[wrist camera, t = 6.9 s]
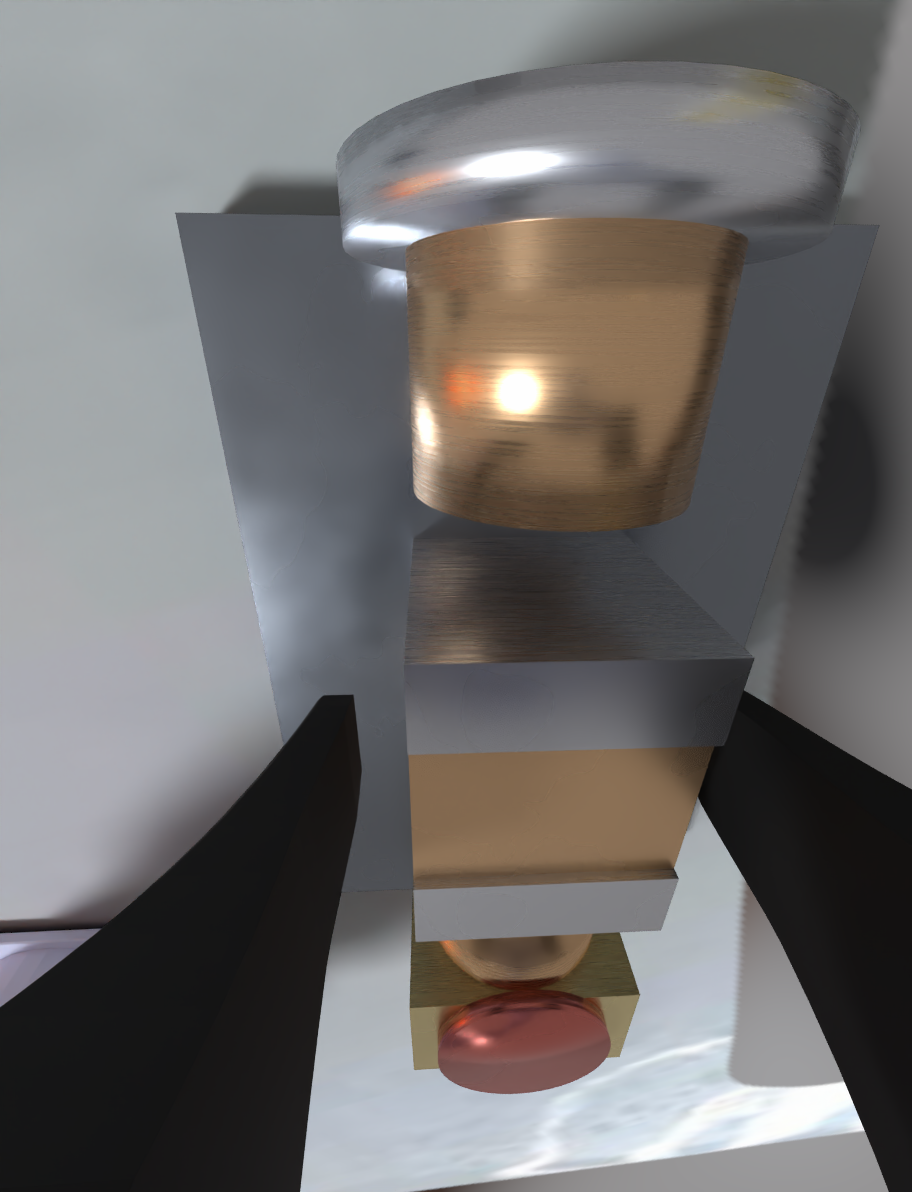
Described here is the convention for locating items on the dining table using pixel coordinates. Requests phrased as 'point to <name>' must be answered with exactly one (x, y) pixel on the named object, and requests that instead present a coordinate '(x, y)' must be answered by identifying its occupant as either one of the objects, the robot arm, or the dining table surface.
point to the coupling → (555, 733)
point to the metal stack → (523, 418)
